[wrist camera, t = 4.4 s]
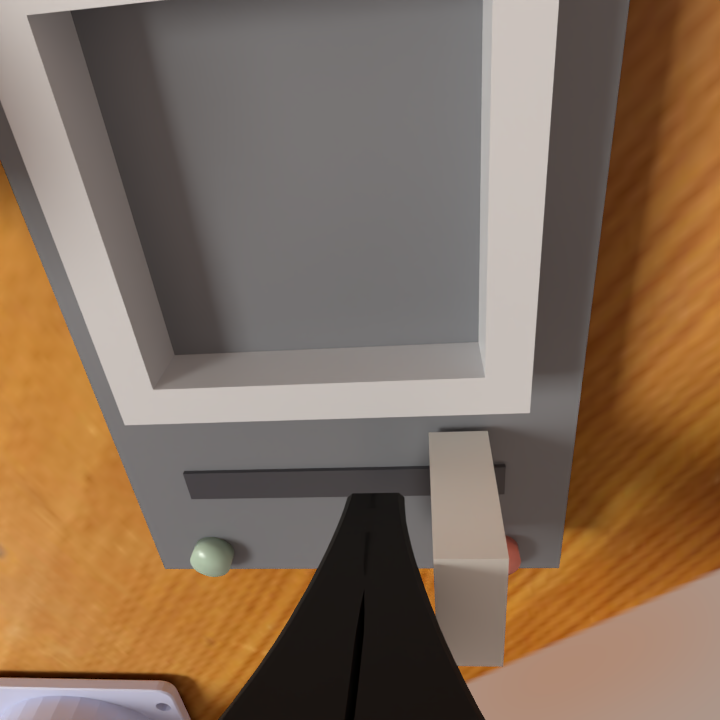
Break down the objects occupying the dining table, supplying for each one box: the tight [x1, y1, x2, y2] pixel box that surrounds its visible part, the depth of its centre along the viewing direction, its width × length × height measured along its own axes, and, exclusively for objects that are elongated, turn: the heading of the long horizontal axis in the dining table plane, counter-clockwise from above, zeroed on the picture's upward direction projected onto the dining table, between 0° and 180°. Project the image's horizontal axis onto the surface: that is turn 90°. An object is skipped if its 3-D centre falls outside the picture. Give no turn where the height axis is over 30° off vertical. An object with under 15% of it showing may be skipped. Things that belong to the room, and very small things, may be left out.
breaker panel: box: [0, 0, 630, 577], centre depth 11 cm, size 14×10×2 cm
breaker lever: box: [429, 431, 509, 667], centre depth 12 cm, size 3×1×3 cm, turn 5°
